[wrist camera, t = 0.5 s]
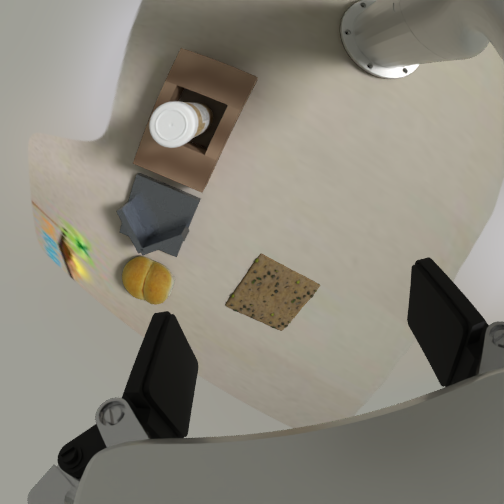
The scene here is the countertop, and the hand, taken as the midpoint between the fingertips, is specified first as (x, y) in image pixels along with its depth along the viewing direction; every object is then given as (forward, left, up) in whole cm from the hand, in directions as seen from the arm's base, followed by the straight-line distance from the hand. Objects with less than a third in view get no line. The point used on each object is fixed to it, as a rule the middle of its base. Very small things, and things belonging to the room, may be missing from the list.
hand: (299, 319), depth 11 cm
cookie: (+20, +11, -33) cm, 40 cm away
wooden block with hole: (-1, -11, -32) cm, 34 cm away
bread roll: (+26, -9, -33) cm, 43 cm away
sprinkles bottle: (-1, -11, -33) cm, 35 cm away
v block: (+14, -11, -32) cm, 37 cm away
